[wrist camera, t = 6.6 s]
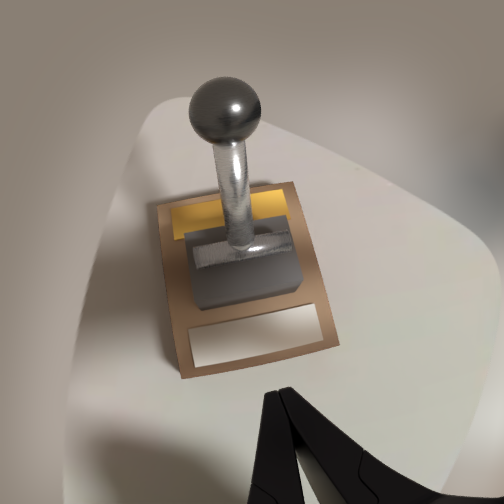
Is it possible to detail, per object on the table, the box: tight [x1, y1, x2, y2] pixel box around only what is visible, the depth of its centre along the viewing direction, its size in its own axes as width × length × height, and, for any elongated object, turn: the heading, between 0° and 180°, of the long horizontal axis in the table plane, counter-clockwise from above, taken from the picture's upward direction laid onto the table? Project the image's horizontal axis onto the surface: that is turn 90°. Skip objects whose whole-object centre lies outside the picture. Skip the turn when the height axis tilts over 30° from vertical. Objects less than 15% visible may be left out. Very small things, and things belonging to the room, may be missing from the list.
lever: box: [189, 77, 292, 270], centre depth 14 cm, size 3×5×9 cm
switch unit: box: [157, 181, 340, 379], centre depth 20 cm, size 12×10×5 cm
